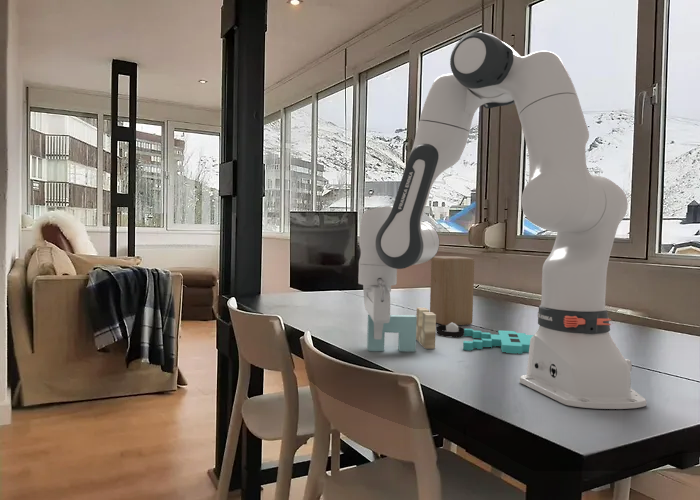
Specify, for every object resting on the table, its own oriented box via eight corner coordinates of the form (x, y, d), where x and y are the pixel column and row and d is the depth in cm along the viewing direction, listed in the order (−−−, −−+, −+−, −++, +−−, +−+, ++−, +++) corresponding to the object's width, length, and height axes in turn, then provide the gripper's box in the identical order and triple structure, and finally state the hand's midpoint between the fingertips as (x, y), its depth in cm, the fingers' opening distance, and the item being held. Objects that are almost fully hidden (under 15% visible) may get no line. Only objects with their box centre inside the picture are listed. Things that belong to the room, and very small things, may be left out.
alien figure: (463, 351, 135) (552, 357, 131) (463, 342, 135) (552, 348, 131) (464, 336, 154) (541, 341, 150) (464, 328, 154) (542, 332, 150)
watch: (466, 336, 153) (467, 323, 153) (460, 339, 149) (460, 325, 149) (440, 333, 157) (440, 320, 157) (432, 335, 153) (433, 322, 153)
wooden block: (428, 320, 176) (430, 256, 176) (457, 320, 179) (459, 256, 179) (443, 326, 167) (445, 257, 166) (473, 325, 170) (475, 258, 169)
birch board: (435, 348, 135) (436, 314, 135) (425, 348, 135) (425, 314, 135) (424, 338, 147) (425, 307, 147) (415, 338, 147) (416, 307, 147)
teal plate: (415, 351, 132) (416, 316, 131) (368, 351, 131) (368, 316, 131) (413, 349, 134) (414, 315, 134) (367, 348, 133) (367, 314, 133)
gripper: (398, 281, 122) (396, 345, 122) (385, 273, 142) (384, 328, 142) (368, 280, 121) (366, 345, 122) (360, 272, 142) (358, 328, 142)
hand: (376, 336), depth 132 cm, fingers open, 4 cm apart
